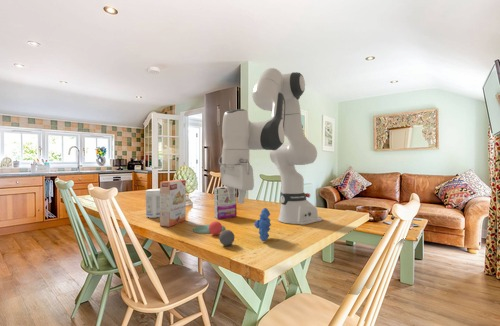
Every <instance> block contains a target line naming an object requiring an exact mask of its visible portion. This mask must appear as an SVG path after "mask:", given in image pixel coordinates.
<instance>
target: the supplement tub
mask: <svg viewBox="0 0 500 326" xmlns="http://www.w3.org/2000/svg"><path fill="white" fill-rule="evenodd" d="M145 215H146V218H148V217H149V218H148V219H156V218H157V217H158V218H160V188H150V189H146V190H145ZM158 218H157V219H158Z"/></svg>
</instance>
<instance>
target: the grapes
mask: <svg viewBox="0 0 500 326" xmlns="http://www.w3.org/2000/svg"><path fill="white" fill-rule="evenodd" d="M270 215H271V213H270V211H269V209H268V208H267V207H264V208H263V209H262V210H261V212H260V215H259V219H256V221H254V223H253V225H254V226H255V229H258V230H259V231H258V234H259V238H260V240H261V242H266V241H267V239H268V238H269V237H270V234H269V232H270V230H271V226H272V224H271V219H270Z"/></svg>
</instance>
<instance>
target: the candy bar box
mask: <svg viewBox="0 0 500 326" xmlns="http://www.w3.org/2000/svg"><path fill="white" fill-rule="evenodd" d="M213 194H214V196H213V197H214V198H213V200H214V205H213V206H214V218H215V219H217V220H223V219H230V218H236V217H237V214H238V213H237V189H236V188H234V194H235V200H230V199H229V194H228V190H227V186H216V187H213Z"/></svg>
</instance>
